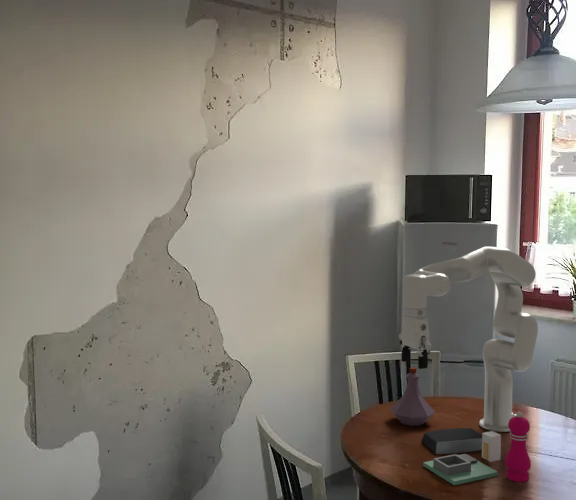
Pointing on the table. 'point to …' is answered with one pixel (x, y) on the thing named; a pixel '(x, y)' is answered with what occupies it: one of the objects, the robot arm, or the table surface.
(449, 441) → the external hard drive
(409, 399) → the flask
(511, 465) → the pepper mill
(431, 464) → the board
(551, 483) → the table surface
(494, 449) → the plug
